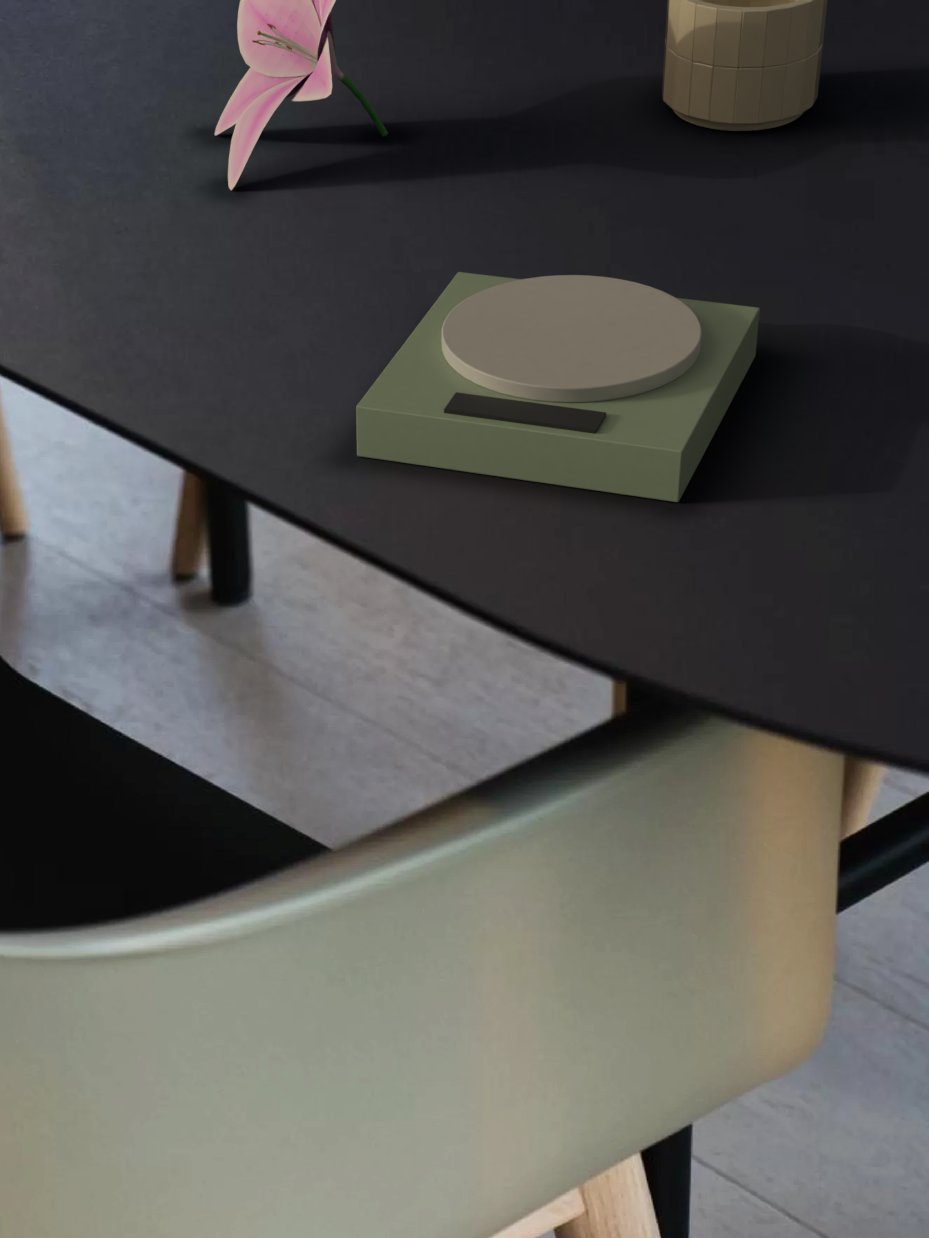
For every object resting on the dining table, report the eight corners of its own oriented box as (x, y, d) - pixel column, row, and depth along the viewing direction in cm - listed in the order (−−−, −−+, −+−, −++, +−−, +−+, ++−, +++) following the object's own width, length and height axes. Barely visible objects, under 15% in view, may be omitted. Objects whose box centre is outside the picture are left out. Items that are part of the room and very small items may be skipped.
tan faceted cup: (829, 86, 118) (842, -36, 114) (797, 141, 113) (809, 15, 109) (682, 72, 120) (690, -48, 116) (644, 126, 115) (651, 2, 111)
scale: (755, 356, 97) (761, 291, 95) (678, 503, 89) (683, 435, 87) (457, 318, 101) (458, 256, 99) (356, 456, 92) (355, 390, 91)
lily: (267, 104, 122) (165, -58, 115) (487, 21, 116) (393, -155, 109) (228, 277, 116) (118, 116, 109) (458, 198, 110) (357, 24, 103)
